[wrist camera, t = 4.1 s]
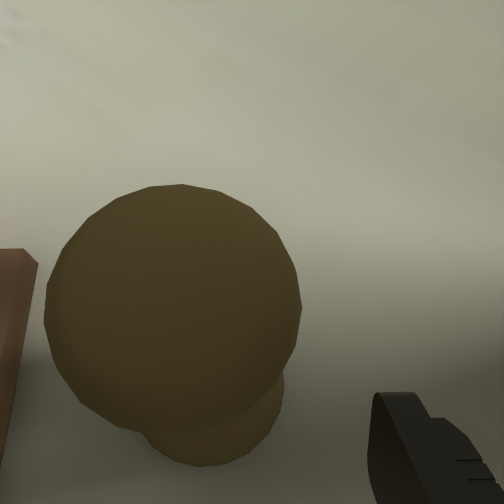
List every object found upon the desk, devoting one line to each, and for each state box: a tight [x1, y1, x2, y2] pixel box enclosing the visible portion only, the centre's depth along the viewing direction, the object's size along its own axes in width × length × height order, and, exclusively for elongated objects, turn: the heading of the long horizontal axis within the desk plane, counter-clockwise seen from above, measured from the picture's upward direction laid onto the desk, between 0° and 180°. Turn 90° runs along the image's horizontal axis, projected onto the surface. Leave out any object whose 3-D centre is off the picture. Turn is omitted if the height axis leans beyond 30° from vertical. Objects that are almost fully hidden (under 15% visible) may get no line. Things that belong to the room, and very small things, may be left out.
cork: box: [44, 184, 302, 467], centre depth 13 cm, size 6×6×11 cm
